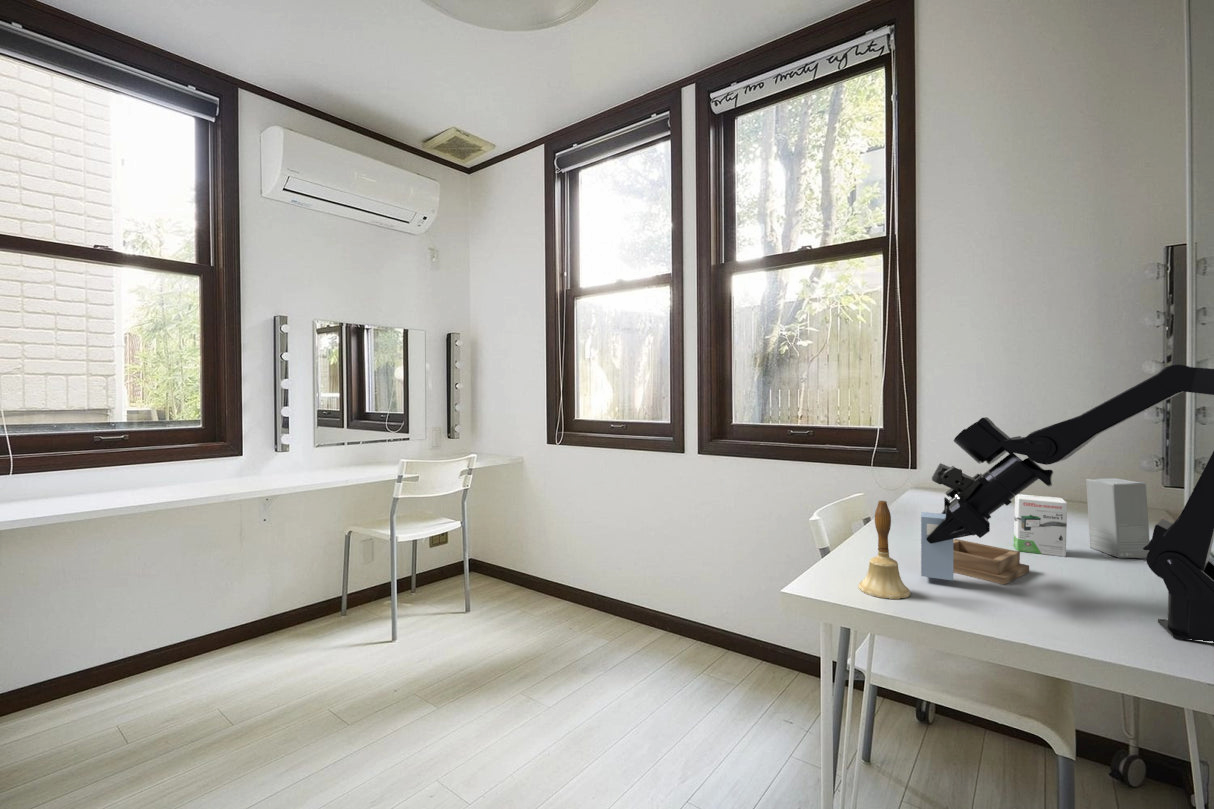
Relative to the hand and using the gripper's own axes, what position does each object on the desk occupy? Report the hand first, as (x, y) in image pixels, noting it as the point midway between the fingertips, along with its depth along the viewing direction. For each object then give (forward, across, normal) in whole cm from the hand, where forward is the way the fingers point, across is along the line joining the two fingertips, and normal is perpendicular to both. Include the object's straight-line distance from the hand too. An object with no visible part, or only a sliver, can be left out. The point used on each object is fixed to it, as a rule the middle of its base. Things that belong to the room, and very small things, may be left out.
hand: (928, 538), depth 102 cm
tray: (0, -12, +11) cm, 16 cm away
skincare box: (-19, -38, +31) cm, 52 cm away
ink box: (-9, -32, +21) cm, 39 cm away
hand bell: (+10, +10, +1) cm, 15 cm away
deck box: (+4, 0, +6) cm, 7 cm away
